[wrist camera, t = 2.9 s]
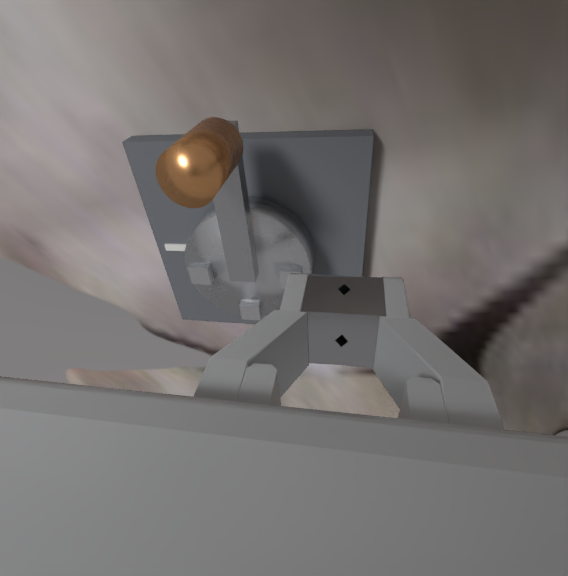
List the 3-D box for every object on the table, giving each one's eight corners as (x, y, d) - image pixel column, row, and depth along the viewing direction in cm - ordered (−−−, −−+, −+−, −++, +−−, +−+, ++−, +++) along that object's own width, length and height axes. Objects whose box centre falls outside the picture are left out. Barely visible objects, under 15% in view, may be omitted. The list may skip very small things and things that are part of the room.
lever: (315, 299, 32) (303, 383, 25) (210, 293, 34) (171, 371, 27) (311, 96, 22) (288, 144, 15) (161, 103, 24) (78, 148, 17)
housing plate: (132, 136, 27) (121, 142, 26) (373, 129, 24) (373, 136, 23) (187, 309, 39) (182, 320, 37) (357, 319, 36) (357, 332, 34)
